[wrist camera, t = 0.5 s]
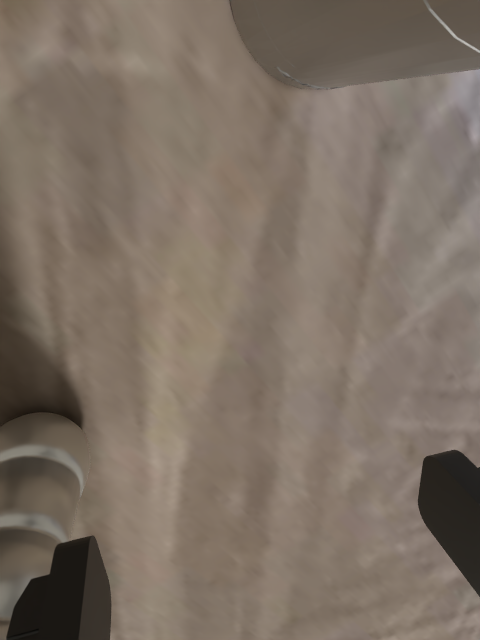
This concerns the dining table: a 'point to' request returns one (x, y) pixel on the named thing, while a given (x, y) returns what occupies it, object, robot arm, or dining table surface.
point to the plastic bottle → (36, 498)
